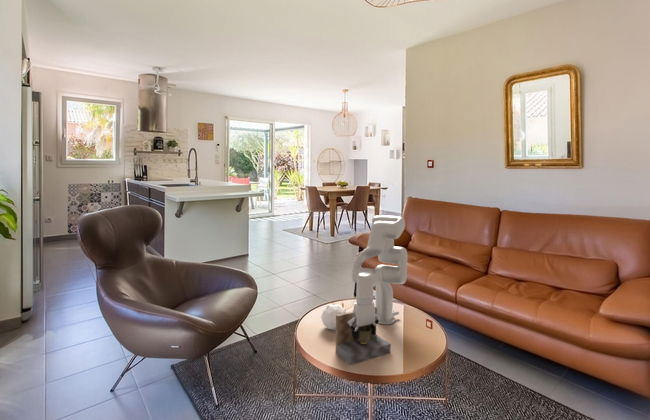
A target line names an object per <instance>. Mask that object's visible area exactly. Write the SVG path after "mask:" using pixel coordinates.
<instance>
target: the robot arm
mask: <svg viewBox="0 0 650 420" xmlns="http://www.w3.org/2000/svg"><path fill="white" fill-rule="evenodd" d="M405 228H406V221H405V218H404V217H402V216H397V215H383V214H382V215H381V214H380V215H374V216H373V217H372V219H371V226H370V231H369V236H368V240H367V245H366V248H364V249H363V250H362V251H360V253H358V255H357V256H356V258H355V260H354V262H353V267H352V269H351V279H352V282H354V283H355V284H356V296H355V298H356V302H354V305H353V309H352V311H353V316H352V319H351V320H349V321H348V325H349V327H350V328H351V329H352V336H353V338H354V339H356V340H357V339H358V331H357V329H358V328H359V327H360V326H365V325H369V324H370V326H371V329H372V332H371V334H373V335H375V327H376V328H377V324H379V325H391V324H394V323H395V322H396V318H395V316H398V315H400V312H399V310H398V311H397V310H396V311H394V310H393V307H394V306H393V303H394V301H393V300H394V290H393V287H392V285H391V284H395V285H404V284H405V283H406V282H407V278H408V251H407V249H406V248H405V247H403V246H395V240H397V239H399V238H400V237H401V235H402V233H403V232H404V230H405ZM375 257H378V258H377V259H378V261H379V262H380V263H384V264H378V265H377V266H375V268H369V267H368V268H367V267H361V266H362V264H363V263H364V262H365V261H367V260H369V259H372V258H375ZM390 264H392V265H390ZM393 264H394V265H393ZM374 287H375V295H374ZM374 300H375V301H374ZM374 302H375V303H374ZM375 307H377V314H375ZM375 317H376V319H375ZM352 323H354V324H353V326H352ZM355 326H356V327H355Z"/></svg>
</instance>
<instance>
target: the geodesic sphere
mask: <svg viewBox="0 0 650 420" xmlns="http://www.w3.org/2000/svg"><path fill="white" fill-rule="evenodd" d="M343 313H346V310H345V309H344V308H343V306H342V305H341V304H337V303H331V304H328V305H326V306H325V307H324V308H323V309H322V312H321V317H320V318H321V322H322V324H323V325H324V327H326V329H328V330H332V331H336V315H338V314H343Z"/></svg>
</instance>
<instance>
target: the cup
mask: <svg viewBox="0 0 650 420" xmlns="http://www.w3.org/2000/svg"><path fill="white" fill-rule="evenodd" d="M357 331H358V340H359V341H360V342H359V343H360V344H361V345H366V344H367V343H368V341H369V340H370V338H371V332H372V329H371V326H369V325H367V326H366V325H365V326H360V327H359V328H358V329H357Z"/></svg>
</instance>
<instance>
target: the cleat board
mask: <svg viewBox="0 0 650 420" xmlns="http://www.w3.org/2000/svg"><path fill="white" fill-rule="evenodd" d="M375 314H377V307H375ZM352 316H353V310H352V311H348V312H345V313H343V314H338V315H336V330H335V350H334V351H335V352H334V353H335V354H336V355H338V356H339V357H340V358H341V359H342V360H343V361H345V363H346V364H348V365H349V366H353V365H356V364H360V363H363V362H365V361H369V360H374V359H375V358H380V357H383V356H386V355H389V354H391V343H390V342H389V341H386V339H384V338H383V337H381V336H380V335H378V334H377V326H376V327H375V335H373V334H371V338H370V340H369V341H368V343H367V344H366V345H361V344H360V343H359V342H360V341H359V340H358V339H357V340H356V339H354V338H353V336H352V329H351V328H350V327H349V325H348V321H349V320H351V319H352ZM375 319H376V317H375ZM353 324H354V323H352V326H353ZM366 326H367V325H366ZM369 326H370V324H369ZM355 327H356V326H355Z"/></svg>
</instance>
